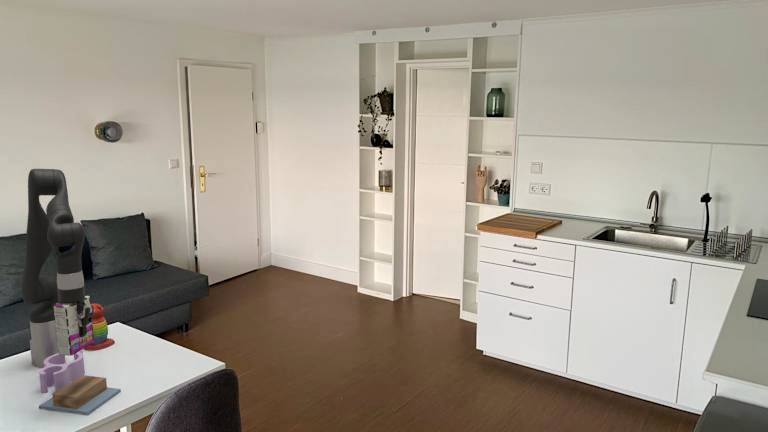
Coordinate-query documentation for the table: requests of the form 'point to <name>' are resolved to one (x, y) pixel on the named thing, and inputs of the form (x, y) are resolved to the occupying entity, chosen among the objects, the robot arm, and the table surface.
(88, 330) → the candy bar box
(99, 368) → the table surface
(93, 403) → the slate blue board
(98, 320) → the stacking bear
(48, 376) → the clip
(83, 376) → the walnut plinth
